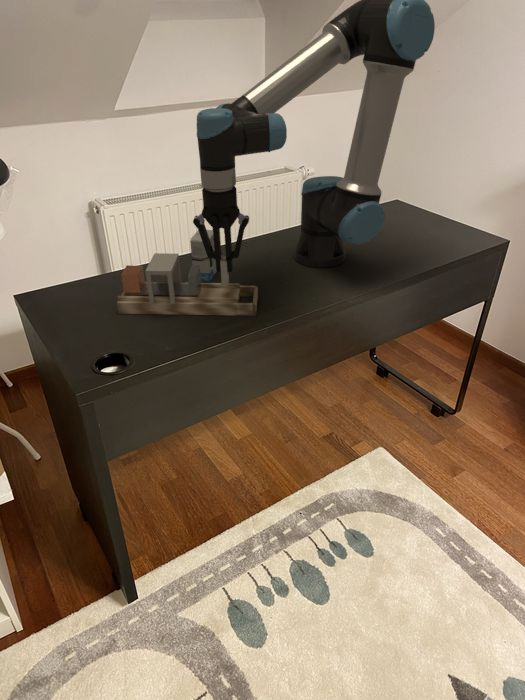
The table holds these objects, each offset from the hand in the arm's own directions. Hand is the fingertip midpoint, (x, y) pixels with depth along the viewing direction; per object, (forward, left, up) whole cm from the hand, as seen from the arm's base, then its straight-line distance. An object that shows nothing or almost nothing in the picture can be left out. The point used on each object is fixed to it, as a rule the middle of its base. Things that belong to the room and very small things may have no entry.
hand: (225, 283), depth 128 cm
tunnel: (+15, 0, -3) cm, 15 cm away
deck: (+9, 0, -6) cm, 11 cm away
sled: (+15, 0, -3) cm, 16 cm away
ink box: (+7, -17, -6) cm, 19 cm away
